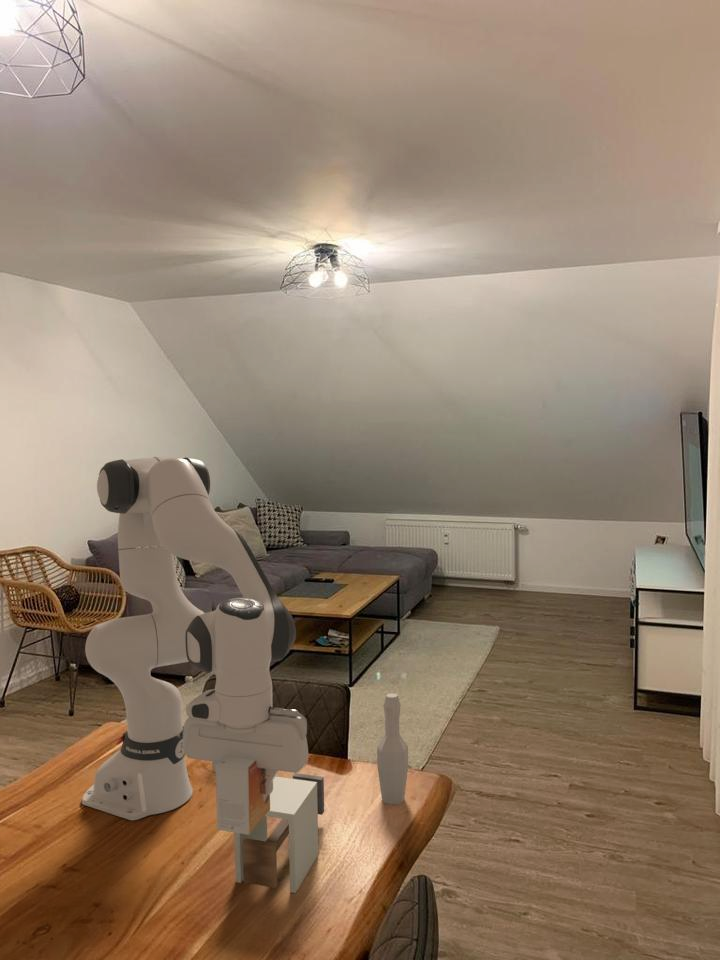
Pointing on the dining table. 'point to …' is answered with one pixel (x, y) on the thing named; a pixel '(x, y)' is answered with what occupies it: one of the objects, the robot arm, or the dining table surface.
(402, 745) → the low poly bottle
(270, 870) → the push rod
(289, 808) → the tunnel
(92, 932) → the dining table surface
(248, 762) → the small box
